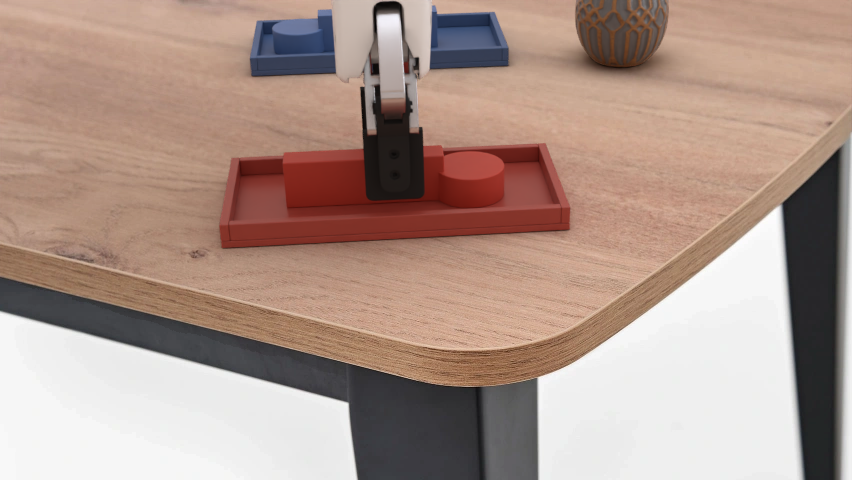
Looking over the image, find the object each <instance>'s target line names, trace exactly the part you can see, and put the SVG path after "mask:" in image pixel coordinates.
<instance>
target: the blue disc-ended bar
mask: <svg viewBox="0 0 852 480" xmlns="http://www.w3.org/2000/svg"><path fill="white" fill-rule="evenodd" d="M437 14H438V10H437V6H436V5H435V4H432V27H431V47H438V31H437ZM317 18H318V20H313V19H314V18H291V20H287V19H285V20H286V21H282V22H279V23H277V24H275V25H274V26H273V28H272V32H273V43H274V51H275V52H276V53H277V54H279V55H287V54H312V53H322V52H324V51H335V49H334V35H333V20H332V8H330V9H326V8H325V9H317Z"/></svg>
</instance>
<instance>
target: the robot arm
mask: <svg viewBox="0 0 852 480" xmlns="http://www.w3.org/2000/svg"><path fill="white" fill-rule="evenodd" d="M330 4H331V9H332V20H333V35H334V49H335V63H336V73H335V75H336V77H337V78H338V79H339V80H340V81H341V82H343V83H345V84H349V83H350V79H360V78H361V76H362V74H363V77H362V81H363V85H364V86H359V92H360V110H361V127H362V128H361V129H362V130H361V133H362V149H363V151H364V169H365V186H366V197H367V198H368V199H369V200H371V201H382V200H402V199H419V198H421V197H423V196H424V194H425V182H424V150H423V146H424V129H423V126H420V117H419V100H418V99H419V97H418V80H419V81H420V80H421V79H423V78H425V77H426V76H427V75H428V74H429V73H430V69H429V68H430V50H431V27H432V5H433V0H330ZM372 64H373V71H372Z"/></svg>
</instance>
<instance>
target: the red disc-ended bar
mask: <svg viewBox="0 0 852 480" xmlns="http://www.w3.org/2000/svg"><path fill="white" fill-rule="evenodd" d="M442 148H443V146H442V144H437V145H436V144H434V145H432V144H431V145H423V150H424V182H425V194H424V196H423V197H421V198H419V199H402V200H382V201H371V200H369V199H368V198H367V197H366V186H365V169H364V151H363V148H351V149H349V148H348V149H347V148H346V149H327V150H306V151H304V150H303V151H284V152H283V154H282V155H283V173H284V184H285V195H286V205H287V208H297V207H316V206H336V205H356V204H376V203H396V202H415V201H435V200H439V201H441V202H443V203H444V204H447V205H450V206H454V207H459V208H479V207H485V206H489V205H492V204H494V203H496V202H498V201H499V200H501V199H502V197H503V195H504V163H503V161H502V160H501V159H500V158H498V157H497V156H495V155H492V154H489V153H484V152H476V151H465V152H456V153H452V154H448V155H445V156H444V154H443V149H442Z"/></svg>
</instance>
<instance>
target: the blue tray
mask: <svg viewBox="0 0 852 480" xmlns="http://www.w3.org/2000/svg"><path fill="white" fill-rule="evenodd" d="M291 19H292V18H291ZM291 19H266V20H265V19H264V20H262V19H261V20H256V23H255V27H254V33H253V39H252V44H251V49H250V56H249V64H250V73H251V77H260V76H261V77H263V76H286V75H287V76H288V75H311V74H333V73H335V74H336V63H335V51H324V52H322V53H312V54H287V55H279V54H277V53H276V52H275V51H274V43H273V32H272V28H273V26H274V25H275V24H277V23H279V22H282V21H286V20H291ZM312 19H313V20H318V17H316V18H312ZM437 31H438V47H431V50H430V68H429V70H431V69H450V68H451V69H456V68H457V69H458V68H459V69H460V68H479V67H504V66H509V65H510V64H509V62H510V61H509V59H510V54H509V53H510V49H509V45H508V43H507V40H506V37H505V34H504V32H503V29H502V28H501V23H500V22H499V20H498V17H497V14H496V11H480V12H479V11H478V12H477V11H476V12H475V11H474V12H452V13H451V12H450V13H437ZM372 71H373V64H372Z"/></svg>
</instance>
